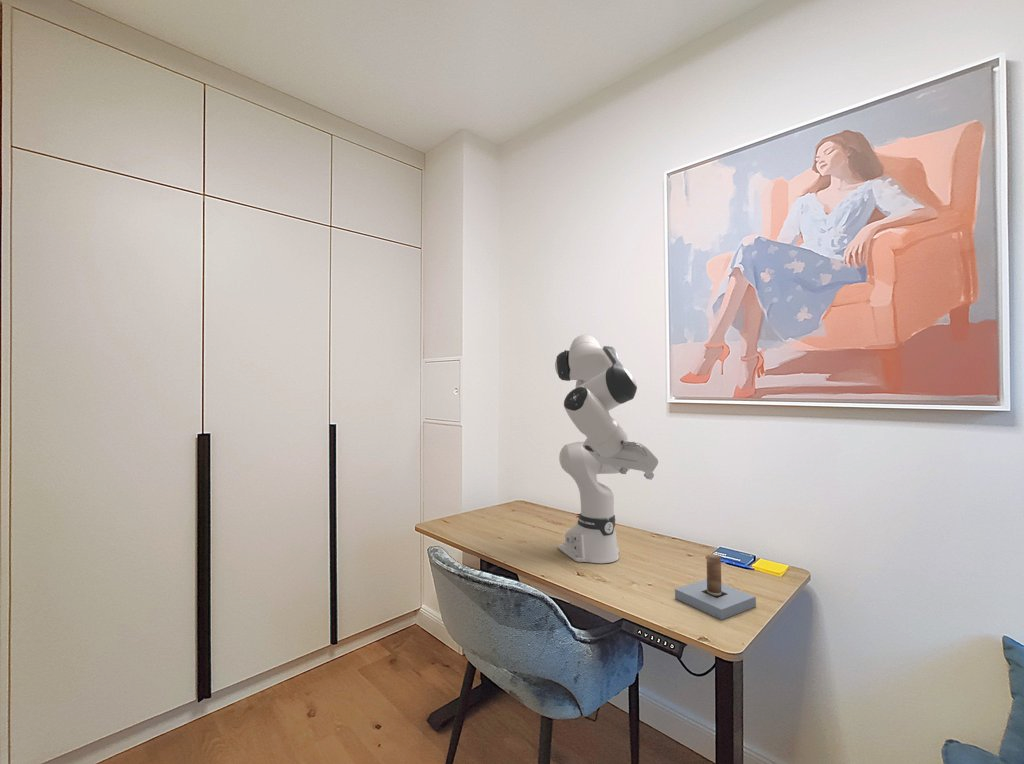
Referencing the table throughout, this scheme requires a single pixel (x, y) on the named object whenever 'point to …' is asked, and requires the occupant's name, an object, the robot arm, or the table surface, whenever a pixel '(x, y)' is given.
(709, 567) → the peg
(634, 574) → the table surface
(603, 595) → the table surface
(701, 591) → the socket board
